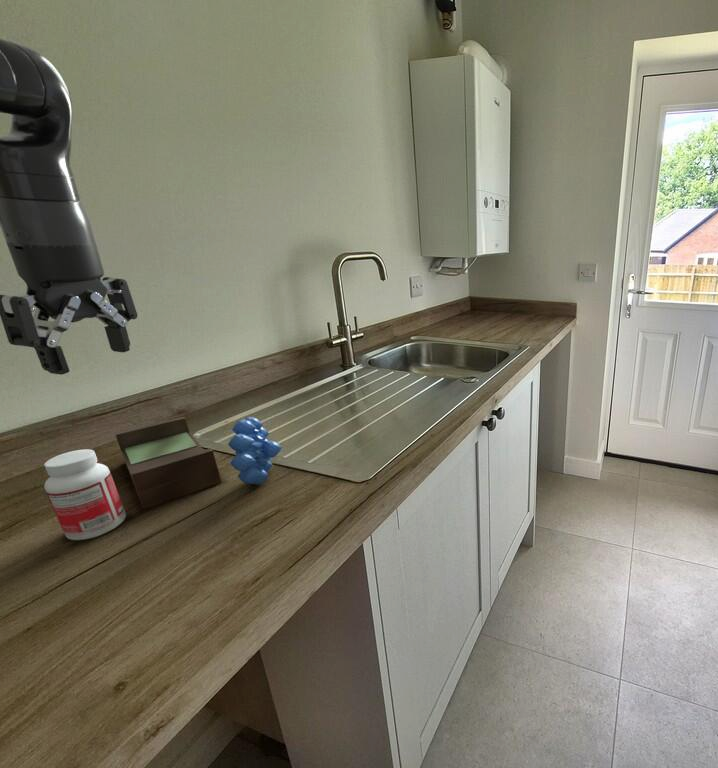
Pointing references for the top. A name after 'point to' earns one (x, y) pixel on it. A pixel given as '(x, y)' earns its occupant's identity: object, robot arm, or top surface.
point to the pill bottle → (83, 495)
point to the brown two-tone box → (166, 461)
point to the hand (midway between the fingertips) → (92, 361)
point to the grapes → (252, 450)
